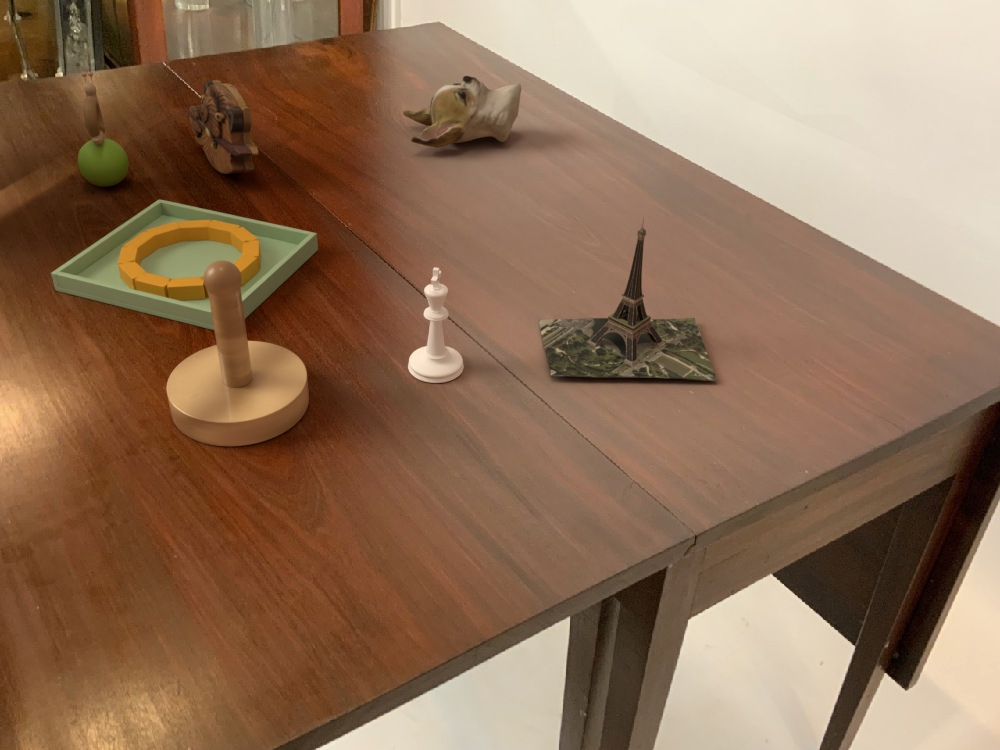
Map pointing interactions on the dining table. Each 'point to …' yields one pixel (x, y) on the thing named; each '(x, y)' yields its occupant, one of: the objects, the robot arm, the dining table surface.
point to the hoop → (178, 233)
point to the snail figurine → (99, 146)
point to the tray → (183, 263)
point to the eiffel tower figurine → (627, 340)
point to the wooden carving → (224, 128)
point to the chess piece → (435, 341)
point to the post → (236, 377)
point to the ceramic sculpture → (467, 113)
